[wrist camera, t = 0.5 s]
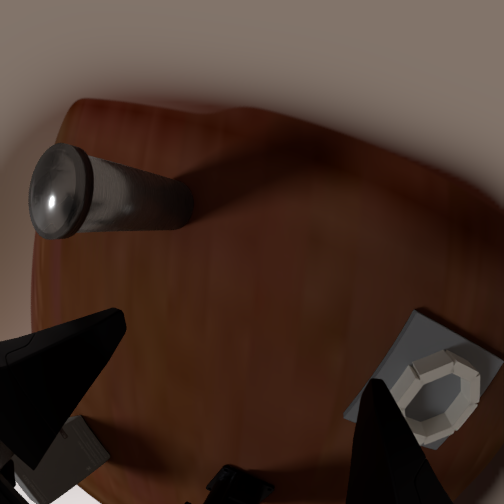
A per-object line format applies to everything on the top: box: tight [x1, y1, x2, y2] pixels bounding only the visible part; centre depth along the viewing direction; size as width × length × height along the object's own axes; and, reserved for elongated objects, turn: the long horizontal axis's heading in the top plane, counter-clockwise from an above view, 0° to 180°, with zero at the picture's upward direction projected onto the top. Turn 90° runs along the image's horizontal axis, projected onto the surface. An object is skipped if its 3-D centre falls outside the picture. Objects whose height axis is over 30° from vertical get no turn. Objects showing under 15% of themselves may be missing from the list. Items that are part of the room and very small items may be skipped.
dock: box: [344, 310, 504, 450], centre depth 18 cm, size 11×12×3 cm
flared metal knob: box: [29, 143, 193, 239], centre depth 18 cm, size 5×5×13 cm
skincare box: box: [11, 415, 110, 504], centre depth 24 cm, size 8×7×16 cm
